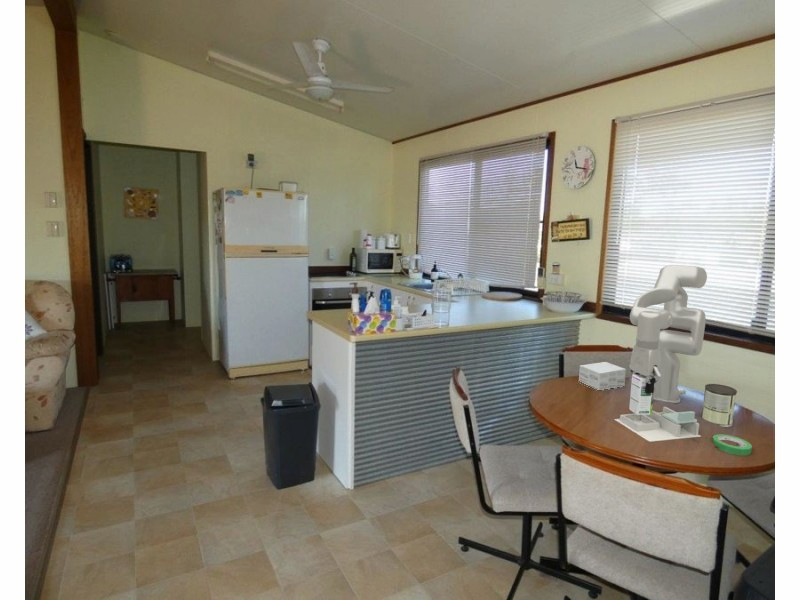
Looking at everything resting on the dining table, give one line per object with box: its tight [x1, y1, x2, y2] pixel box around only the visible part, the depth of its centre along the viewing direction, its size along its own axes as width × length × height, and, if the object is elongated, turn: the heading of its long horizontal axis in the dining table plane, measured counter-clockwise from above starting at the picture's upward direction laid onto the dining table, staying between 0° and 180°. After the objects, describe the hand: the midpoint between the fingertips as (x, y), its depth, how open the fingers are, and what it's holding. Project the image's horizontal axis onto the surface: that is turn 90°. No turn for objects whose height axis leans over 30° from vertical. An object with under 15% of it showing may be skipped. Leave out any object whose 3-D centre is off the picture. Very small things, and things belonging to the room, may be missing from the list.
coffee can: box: [701, 383, 738, 428], centre depth 177 cm, size 10×10×14 cm
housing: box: [613, 406, 702, 442], centre depth 170 cm, size 22×19×6 cm
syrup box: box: [628, 374, 655, 415], centre depth 170 cm, size 6×6×14 cm
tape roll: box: [711, 433, 753, 456], centre depth 157 cm, size 11×11×3 cm
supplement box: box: [578, 361, 627, 391], centre depth 219 cm, size 17×13×9 cm
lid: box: [662, 410, 698, 424], centre depth 166 cm, size 9×7×4 cm
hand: (642, 389), depth 170 cm, fingers closed on syrup box, 6 cm apart
